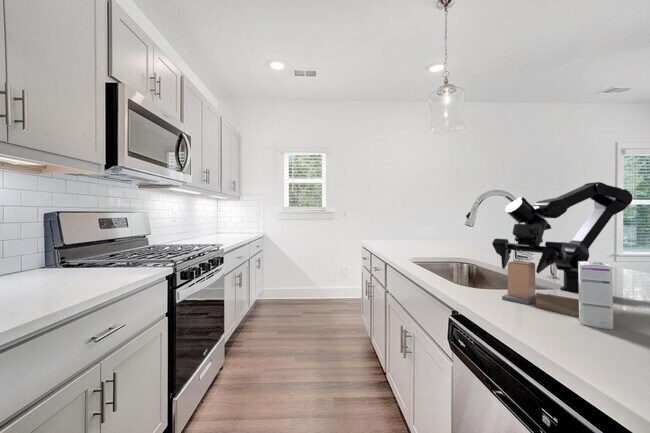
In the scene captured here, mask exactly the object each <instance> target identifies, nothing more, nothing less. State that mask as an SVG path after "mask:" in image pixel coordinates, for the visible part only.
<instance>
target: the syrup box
mask: <svg viewBox="0 0 650 433" xmlns="http://www.w3.org/2000/svg"><path fill="white" fill-rule="evenodd" d="M578 280H579V292H578V299H579V316H578V319H579V321H580V324H581V325H583V326H588V327H593V328H599V329H605V330H612V331H613V330H614V296H613V295H614V294H613V292H614V291H613V290H614V289H613V267H612V266H611V265H610V264H609V263H608V262H601V261H589V260H588V261H583V262H580V261H579V262H578Z"/></svg>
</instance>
